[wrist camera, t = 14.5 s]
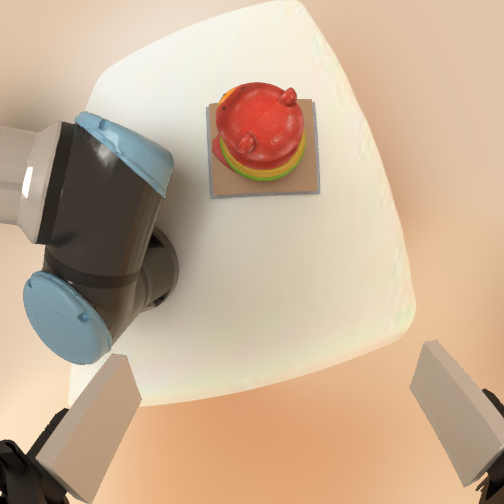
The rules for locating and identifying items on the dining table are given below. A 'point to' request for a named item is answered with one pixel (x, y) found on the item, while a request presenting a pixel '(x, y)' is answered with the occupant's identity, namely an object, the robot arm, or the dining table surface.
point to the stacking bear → (260, 131)
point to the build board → (295, 182)
